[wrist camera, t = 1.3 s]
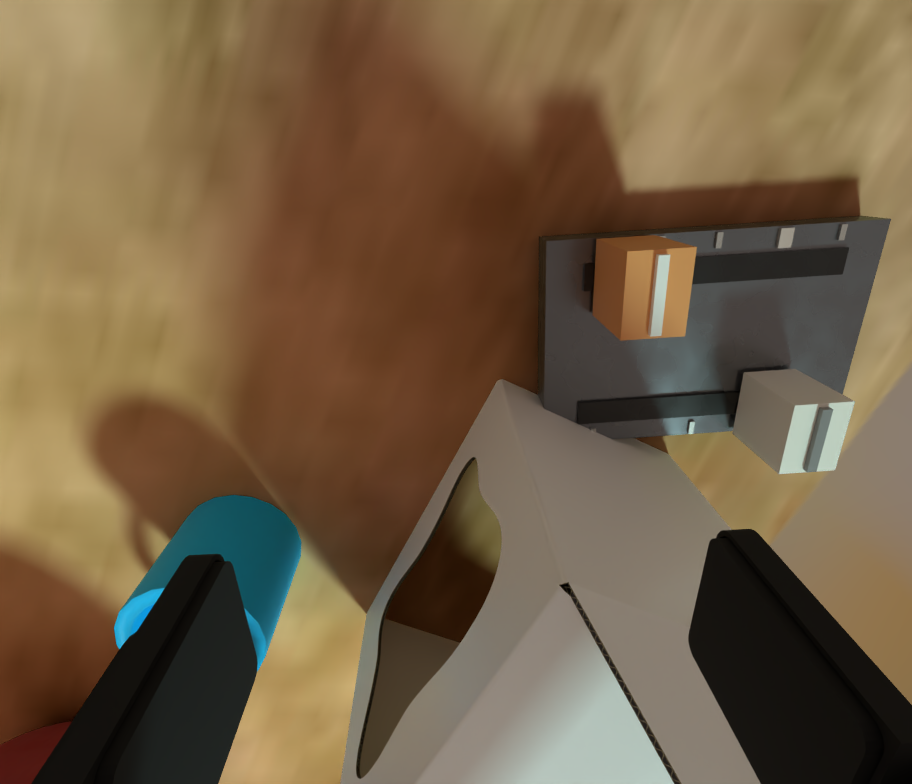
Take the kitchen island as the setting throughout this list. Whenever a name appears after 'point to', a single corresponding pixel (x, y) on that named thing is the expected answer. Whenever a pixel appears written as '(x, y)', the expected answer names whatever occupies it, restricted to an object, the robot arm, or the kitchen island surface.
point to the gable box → (553, 625)
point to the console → (706, 323)
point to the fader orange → (643, 286)
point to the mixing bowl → (28, 753)
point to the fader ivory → (792, 420)
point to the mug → (243, 544)
